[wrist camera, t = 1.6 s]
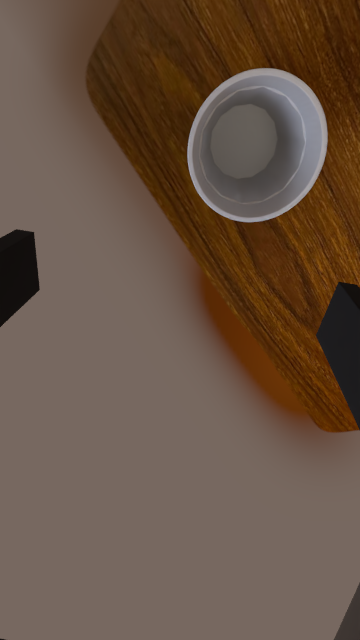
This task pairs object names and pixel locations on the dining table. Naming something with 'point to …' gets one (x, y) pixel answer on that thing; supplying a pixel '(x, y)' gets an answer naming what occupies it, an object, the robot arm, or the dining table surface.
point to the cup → (257, 145)
